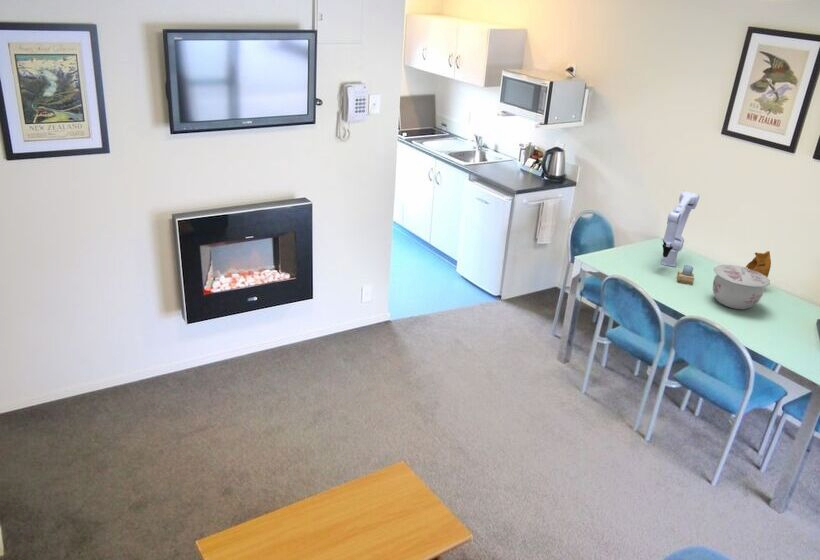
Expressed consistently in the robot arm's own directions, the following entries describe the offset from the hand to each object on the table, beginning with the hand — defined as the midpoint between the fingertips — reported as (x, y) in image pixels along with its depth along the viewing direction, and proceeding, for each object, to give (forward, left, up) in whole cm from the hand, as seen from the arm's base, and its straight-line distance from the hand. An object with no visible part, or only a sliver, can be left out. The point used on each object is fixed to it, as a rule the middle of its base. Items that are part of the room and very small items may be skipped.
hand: (664, 254), depth 385 cm
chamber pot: (+26, +38, -11) cm, 47 cm away
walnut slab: (+8, +13, -11) cm, 19 cm away
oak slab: (+8, +13, -8) cm, 18 cm away
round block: (+8, +13, -6) cm, 17 cm away
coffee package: (-3, +49, -11) cm, 50 cm away
